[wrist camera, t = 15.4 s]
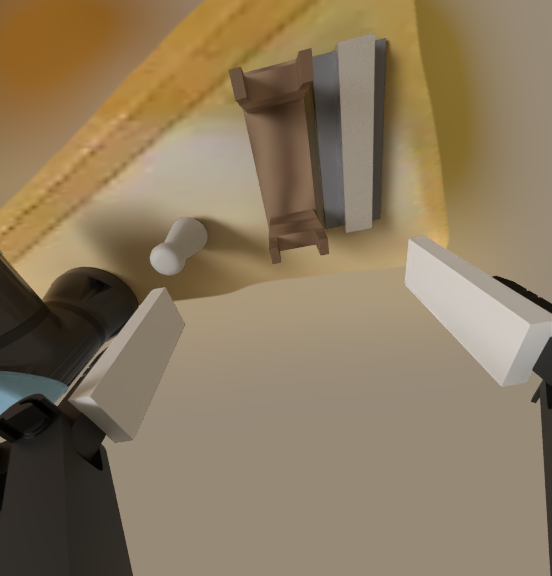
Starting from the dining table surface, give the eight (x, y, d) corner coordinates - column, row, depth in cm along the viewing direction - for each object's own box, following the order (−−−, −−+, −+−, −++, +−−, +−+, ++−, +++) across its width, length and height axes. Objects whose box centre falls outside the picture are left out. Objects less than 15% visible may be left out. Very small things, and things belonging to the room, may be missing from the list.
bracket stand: (271, 238, 42) (271, 279, 30) (237, 77, 31) (213, 38, 19) (316, 229, 42) (335, 267, 29) (298, 61, 30) (316, 9, 18)
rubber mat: (325, 227, 42) (326, 228, 41) (310, 58, 30) (311, 57, 30) (378, 217, 41) (380, 218, 40) (384, 39, 29) (386, 37, 29)
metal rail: (340, 226, 41) (346, 233, 38) (331, 52, 29) (337, 42, 26) (364, 221, 40) (371, 228, 37) (364, 43, 29) (375, 32, 26)
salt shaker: (217, 230, 42) (197, 264, 31) (197, 252, 44) (172, 291, 33) (188, 206, 39) (155, 232, 28) (169, 230, 42) (132, 263, 31)
